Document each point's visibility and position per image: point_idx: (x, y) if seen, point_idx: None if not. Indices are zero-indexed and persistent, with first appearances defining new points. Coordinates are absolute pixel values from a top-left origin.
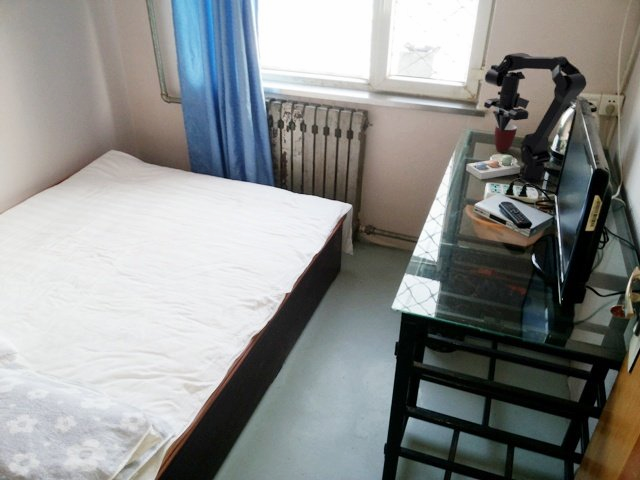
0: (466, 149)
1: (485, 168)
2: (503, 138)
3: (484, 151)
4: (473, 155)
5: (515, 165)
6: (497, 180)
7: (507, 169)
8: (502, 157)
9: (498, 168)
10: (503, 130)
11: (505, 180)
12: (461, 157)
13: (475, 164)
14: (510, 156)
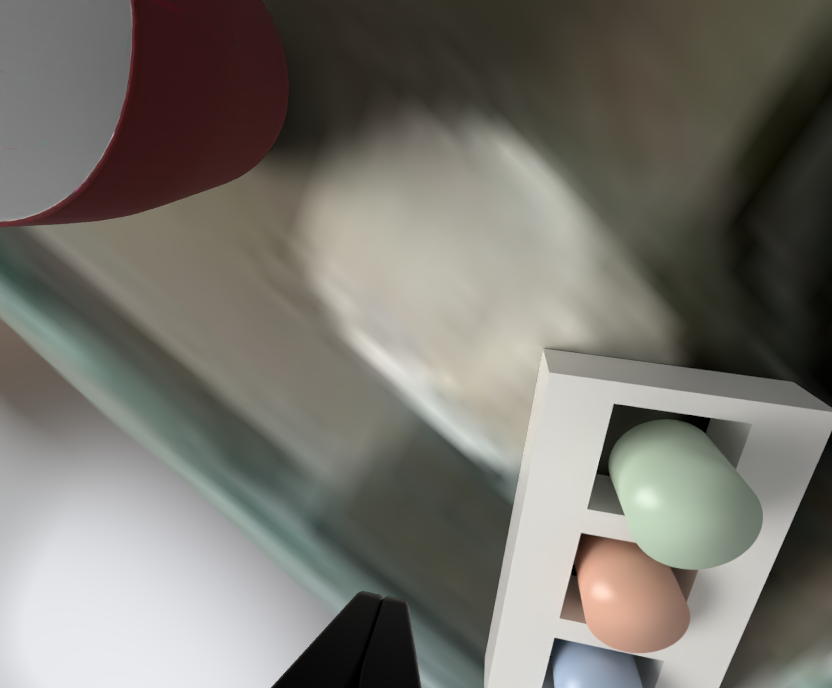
0: (132, 385)
1: (640, 682)
2: (210, 170)
3: (211, 282)
4: (263, 428)
5: (774, 435)
6: (767, 629)
7: (773, 551)
8: (656, 553)
9: (710, 608)
10: (408, 631)
11: (814, 587)
12: (270, 526)
13: (525, 675)
14: (717, 492)
